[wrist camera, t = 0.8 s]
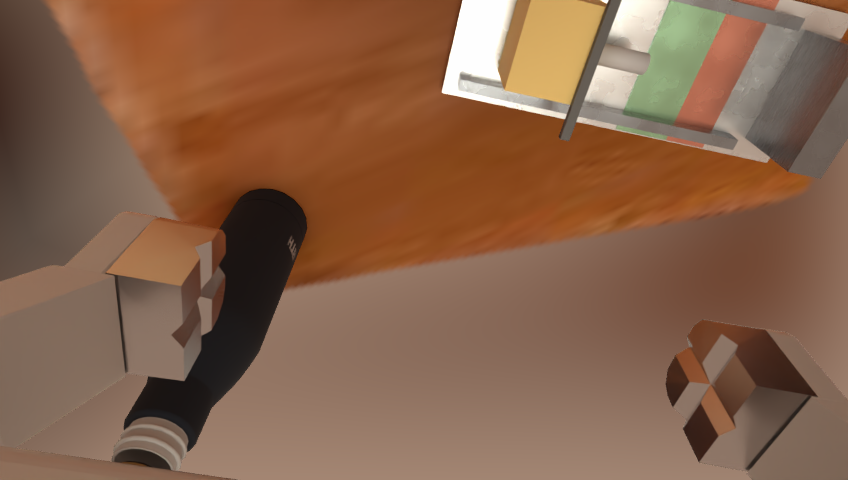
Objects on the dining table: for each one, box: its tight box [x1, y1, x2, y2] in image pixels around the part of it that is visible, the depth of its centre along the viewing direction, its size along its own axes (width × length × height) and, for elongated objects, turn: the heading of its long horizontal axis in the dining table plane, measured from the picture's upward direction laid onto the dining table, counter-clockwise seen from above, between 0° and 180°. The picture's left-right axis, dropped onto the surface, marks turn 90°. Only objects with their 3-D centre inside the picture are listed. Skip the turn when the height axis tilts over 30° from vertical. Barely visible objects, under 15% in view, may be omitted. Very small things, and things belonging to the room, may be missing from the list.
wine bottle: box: [112, 189, 307, 471], centre depth 35 cm, size 6×6×30 cm
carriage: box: [498, 0, 651, 141], centre depth 35 cm, size 10×9×5 cm
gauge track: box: [442, 0, 848, 179], centre depth 36 cm, size 11×26×7 cm, turn 78°
